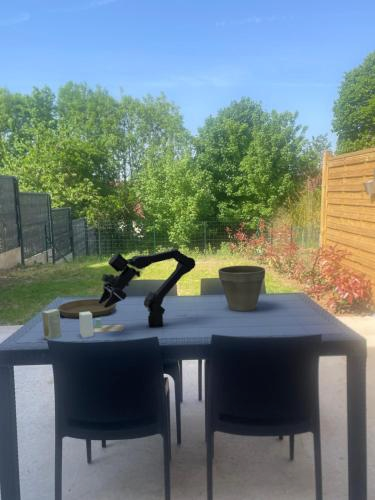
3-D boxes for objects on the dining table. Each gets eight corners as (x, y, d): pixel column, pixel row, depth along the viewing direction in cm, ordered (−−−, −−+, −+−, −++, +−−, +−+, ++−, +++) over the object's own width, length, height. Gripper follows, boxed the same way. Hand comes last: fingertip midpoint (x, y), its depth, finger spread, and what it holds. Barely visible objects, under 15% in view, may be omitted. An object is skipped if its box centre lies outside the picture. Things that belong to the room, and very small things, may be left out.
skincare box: (56, 335, 193) (54, 308, 192) (61, 336, 190) (60, 309, 189) (43, 338, 188) (41, 311, 187) (49, 340, 185) (47, 312, 184)
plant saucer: (120, 316, 223) (120, 308, 222) (58, 323, 213) (58, 314, 213) (112, 304, 252) (112, 296, 252) (57, 309, 243) (57, 301, 242)
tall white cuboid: (90, 334, 193) (89, 311, 192) (93, 337, 188) (92, 313, 187) (80, 335, 191) (79, 312, 190) (83, 339, 186) (81, 315, 185)
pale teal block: (101, 326, 202) (101, 318, 202) (101, 327, 200) (100, 319, 200) (96, 326, 202) (95, 318, 202) (95, 328, 200) (95, 319, 199)
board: (125, 325, 204) (125, 324, 204) (122, 332, 194) (122, 330, 194) (95, 326, 204) (95, 325, 204) (91, 333, 194) (91, 331, 194)
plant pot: (244, 316, 215) (243, 273, 212) (209, 308, 233) (208, 269, 231) (275, 307, 231) (274, 268, 229) (240, 301, 249) (240, 264, 247)
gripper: (106, 264, 200) (83, 290, 196) (118, 269, 183) (93, 297, 180) (123, 279, 204) (101, 305, 201) (136, 285, 188) (112, 313, 184)
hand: (101, 305), depth 191 cm, fingers open, 9 cm apart
